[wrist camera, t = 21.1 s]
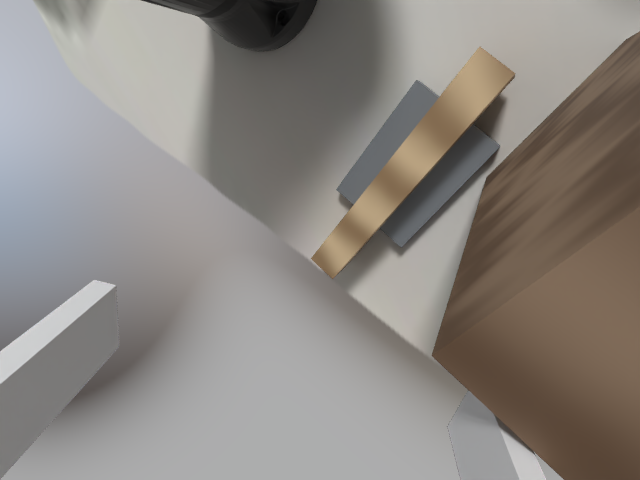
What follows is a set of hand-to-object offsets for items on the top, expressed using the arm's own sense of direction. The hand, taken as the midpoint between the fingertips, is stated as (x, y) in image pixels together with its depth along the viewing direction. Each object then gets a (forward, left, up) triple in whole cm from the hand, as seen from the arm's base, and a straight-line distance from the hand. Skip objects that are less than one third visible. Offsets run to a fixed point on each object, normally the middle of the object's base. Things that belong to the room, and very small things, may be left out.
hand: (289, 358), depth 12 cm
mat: (-3, +2, -30) cm, 30 cm away
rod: (-4, +1, -28) cm, 29 cm away
